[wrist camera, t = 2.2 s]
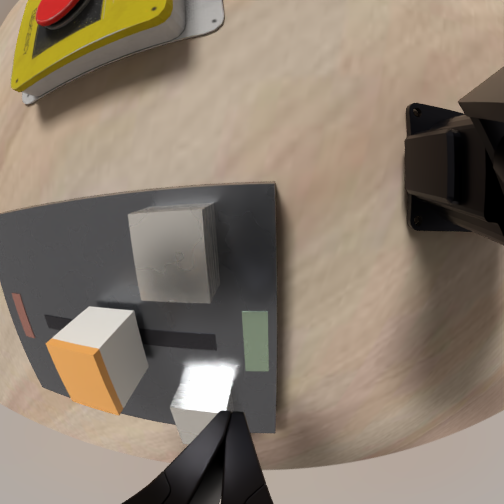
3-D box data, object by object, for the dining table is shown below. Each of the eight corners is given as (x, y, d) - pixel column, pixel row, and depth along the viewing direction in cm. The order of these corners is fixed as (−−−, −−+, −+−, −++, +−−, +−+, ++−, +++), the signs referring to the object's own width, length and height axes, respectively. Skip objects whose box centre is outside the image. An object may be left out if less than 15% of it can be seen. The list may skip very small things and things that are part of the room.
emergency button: (6, 1, 6) (203, -98, 5) (39, 15, 11) (217, -59, 9) (-16, 106, 9) (210, -8, 7) (27, 109, 13) (227, 34, 12)
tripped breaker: (134, 310, 13) (93, 355, 9) (148, 366, 14) (119, 415, 10) (89, 306, 13) (45, 343, 10) (106, 359, 14) (72, 401, 11)
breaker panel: (274, 181, 13) (273, 186, 9) (276, 412, 17) (274, 457, 14) (5, 211, 15) (-32, 223, 11) (53, 375, 19) (30, 400, 15)
